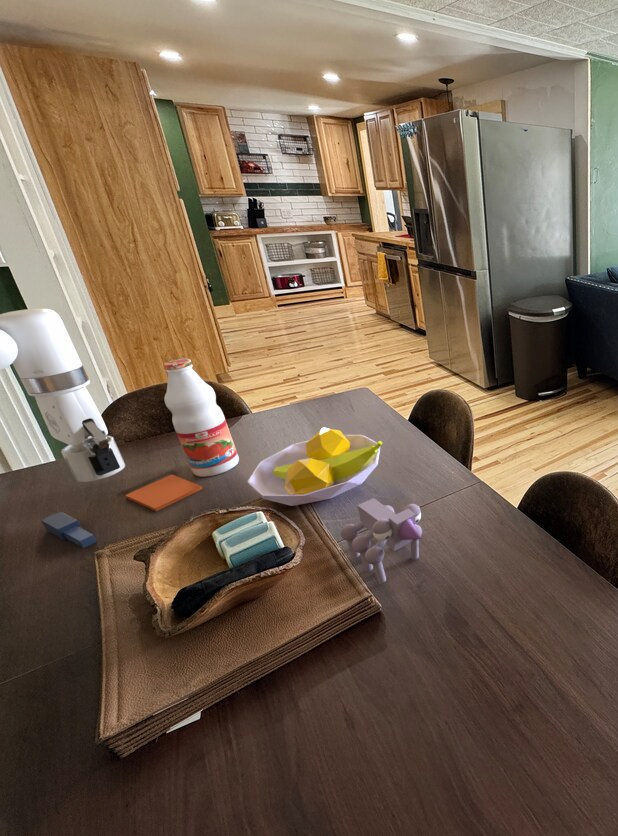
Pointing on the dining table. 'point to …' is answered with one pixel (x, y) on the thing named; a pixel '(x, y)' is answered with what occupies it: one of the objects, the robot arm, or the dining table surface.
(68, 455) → the white round cup
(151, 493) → the orange tile
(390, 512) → the toy sheep
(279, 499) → the fruit bowl
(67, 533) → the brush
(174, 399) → the fruit juice
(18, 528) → the dining table surface
